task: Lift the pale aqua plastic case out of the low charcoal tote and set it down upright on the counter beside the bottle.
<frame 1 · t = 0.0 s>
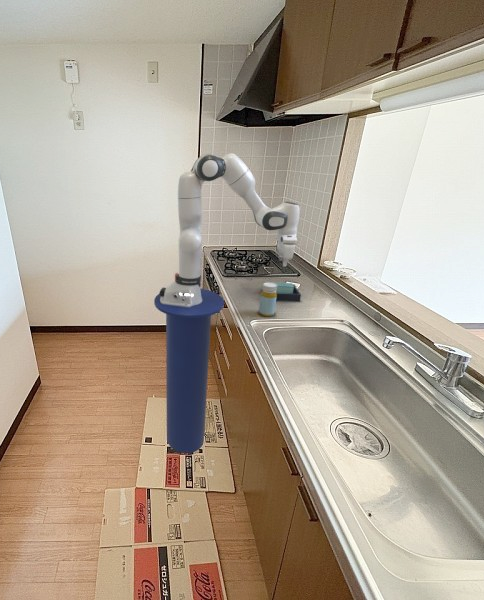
hand: (282, 263, 165), 20 cm above the counter, tool pointing down, fingers open, 8 cm apart
case: (282, 294, 176), resting on tote
bottle: (266, 314, 156), on the counter
tote: (282, 295, 177), on the counter
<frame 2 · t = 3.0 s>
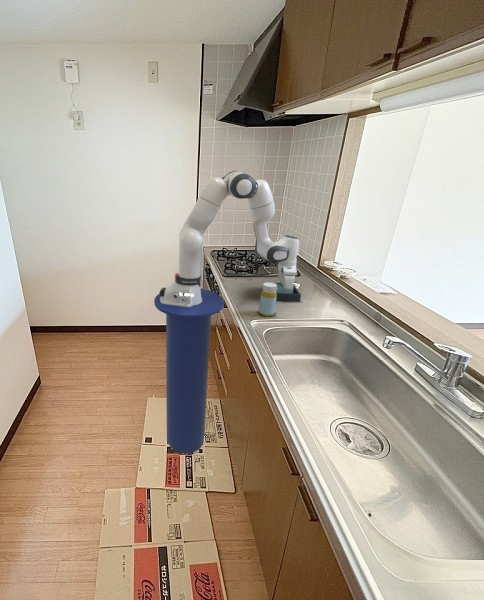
hand: (283, 291, 175), 3 cm above the counter, tool pointing down, fingers closed on case, 5 cm apart
case: (282, 294, 176), resting on tote, touching gripper
everything else where it was.
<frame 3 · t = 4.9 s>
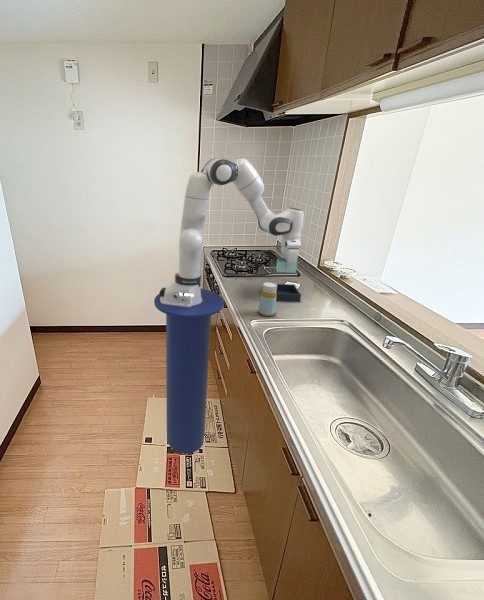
hand: (286, 267, 170), 16 cm above the counter, tool pointing down, fingers closed on case, 5 cm apart
case: (285, 271, 171), point 14 cm above the counter, touching gripper
everything else where it was.
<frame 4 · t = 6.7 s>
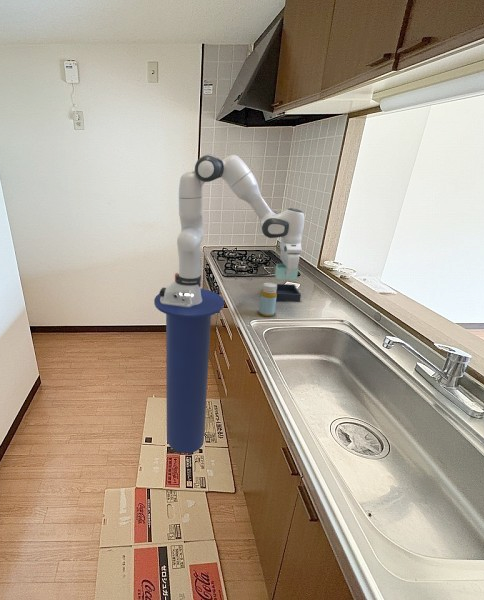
hand: (286, 273, 155), 18 cm above the counter, tool pointing down, fingers closed on case, 5 cm apart
case: (285, 277, 156), point 16 cm above the counter, touching gripper
everything else where it was.
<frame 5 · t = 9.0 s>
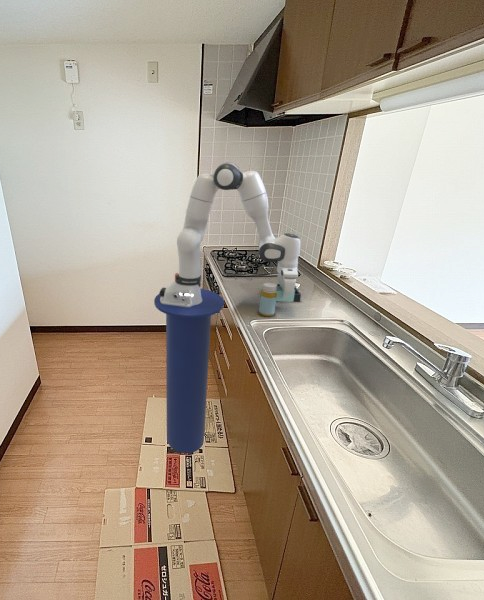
hand: (283, 295, 159), 7 cm above the counter, tool pointing down, fingers closed on case, 5 cm apart
case: (282, 299, 160), point 5 cm above the counter, touching gripper
everything else where it was.
when the fingers open (2 cm above the counter, at t = 10.6 s): case stays where it is, on the counter.
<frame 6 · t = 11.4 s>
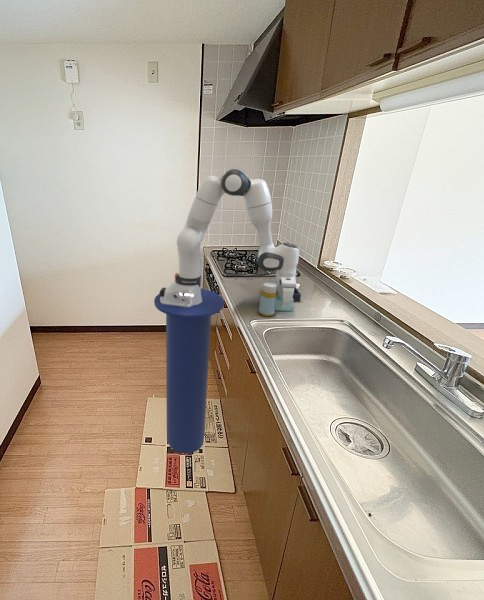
hand: (281, 303, 161), 3 cm above the counter, tool pointing down, fingers open, 8 cm apart
case: (281, 308, 162), on the counter
everything else where it was.
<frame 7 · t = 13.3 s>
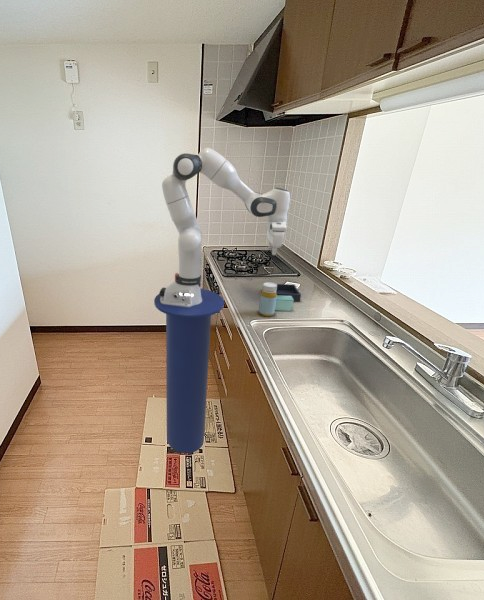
hand: (272, 252, 161), 26 cm above the counter, tool pointing down, fingers open, 8 cm apart
nothing on the counter moved.
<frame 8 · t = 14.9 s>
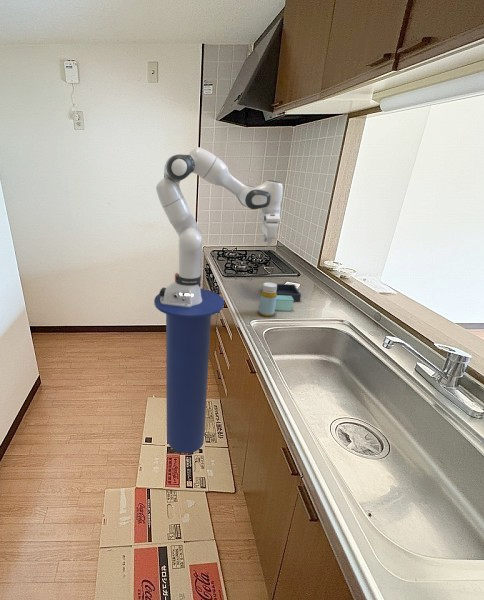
hand: (266, 243, 164), 29 cm above the counter, tool pointing down, fingers open, 8 cm apart
nothing on the counter moved.
at the end: case inside the target area (0.2 cm from its centre), on the counter; case 10.8 cm from the bottle (horizontally); case tilted 0° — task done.
